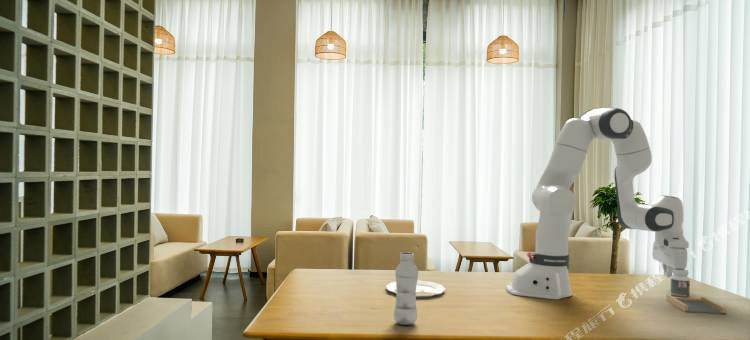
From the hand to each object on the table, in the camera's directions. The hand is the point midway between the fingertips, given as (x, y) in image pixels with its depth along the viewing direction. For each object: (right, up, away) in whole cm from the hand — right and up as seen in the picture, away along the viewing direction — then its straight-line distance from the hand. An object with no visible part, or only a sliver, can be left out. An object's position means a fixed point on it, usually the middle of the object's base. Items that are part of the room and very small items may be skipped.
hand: (667, 276), depth 177 cm
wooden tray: (-4, -6, -20) cm, 21 cm away
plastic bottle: (-100, -4, -42) cm, 109 cm away
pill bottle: (-2, -6, -10) cm, 11 cm away
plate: (-95, -4, -7) cm, 95 cm away
